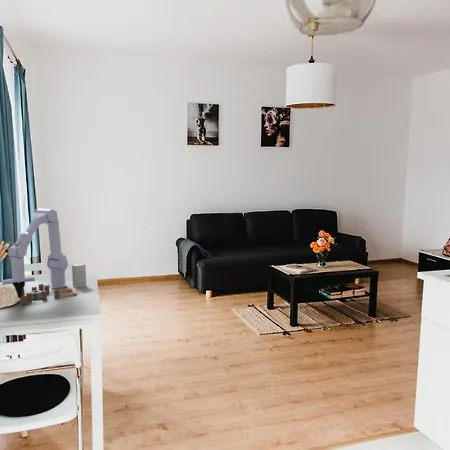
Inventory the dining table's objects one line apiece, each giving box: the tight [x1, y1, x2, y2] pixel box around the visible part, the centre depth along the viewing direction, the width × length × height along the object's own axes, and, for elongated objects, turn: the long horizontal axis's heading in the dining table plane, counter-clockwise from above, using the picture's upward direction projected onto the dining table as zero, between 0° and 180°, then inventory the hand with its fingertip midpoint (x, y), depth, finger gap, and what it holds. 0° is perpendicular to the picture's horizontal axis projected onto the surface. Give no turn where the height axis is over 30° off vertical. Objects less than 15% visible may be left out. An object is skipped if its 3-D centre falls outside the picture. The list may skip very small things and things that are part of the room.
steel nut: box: [29, 289, 42, 300], centre depth 237 cm, size 6×5×3 cm
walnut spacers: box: [20, 283, 61, 306], centre depth 238 cm, size 20×18×4 cm
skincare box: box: [71, 262, 87, 289], centre depth 258 cm, size 6×4×12 cm
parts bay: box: [58, 287, 78, 298], centre depth 245 cm, size 10×9×1 cm
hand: (19, 297), depth 233 cm, fingers closed
